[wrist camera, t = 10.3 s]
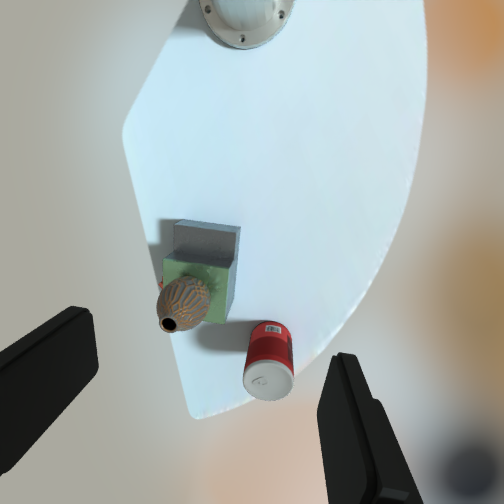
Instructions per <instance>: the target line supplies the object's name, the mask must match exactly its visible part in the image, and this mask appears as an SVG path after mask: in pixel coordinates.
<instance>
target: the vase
mask: <svg viewBox="0 0 504 504" xmlns="http://www.w3.org/2000/svg"><path fill="white" fill-rule="evenodd" d="M210 303H211V296H210V292H209V289H208V287H207V286H206V284H205V283H204V282H203V281H201V280H200V279H198V278H196V277H192V276H183V277H179V278H176V279H174V280H172V281H171V282H170V283H168V284H167V285H166V286H165V287H164V289H163V290H162V291H161V293H160V295H159V298H158V301H157V314H158V317H159V325H160V327H161V329H162V330H163V331H165V332H168V333H174V332H176V331H186V330H189V329H192V328H194V327H195V326H197V325H198V324H199V323H200V322H201V321H202V320H203V319H204V318H205V316H206V315H207V313H208V311H209V308H210Z"/></svg>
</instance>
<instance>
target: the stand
mask: <svg viewBox="0 0 504 504" xmlns="http://www.w3.org/2000/svg"><path fill="white" fill-rule="evenodd" d="M240 229H241V227H237V226H230V225H222V224H215V223H207V222H200V221H193V220H185V219H183V220H181V221H179V222H177V223H175V224H174V251H173V252H172V253H171V254H169V255H168V256H167V257H165V258H164V259H163V276H162V281H161V282H160V283H159V284H158V285H159V286H160V287H161V288H162V290H163V289H164V287H165V286H166V285H167V284H168V283H170V282H171V281H172V280H174V279H176V278H179V277H183V276H192V277H196V278H198V279H200V280H201V281H203V282H204V283H205V284H206V286H207V287H208V289H209V292H210V296H211V303H210V308H209V311H208V313H207V315H206V316H205V318H204V319H203V320H202V321H206V322H212V323H218V324H225V321H226V319H227V316H228V313H229V311H230V308H231V305H232V303H233V300H234V292H235V281H236V271H237V260H238V250H239V239H240Z"/></svg>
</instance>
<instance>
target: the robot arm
mask: <svg viewBox="0 0 504 504" xmlns="http://www.w3.org/2000/svg"><path fill="white" fill-rule="evenodd" d="M199 3H200V7H201V9H202V12H203V15H204V17H205V19H206V21H207V23H208V25H209V26H210V28H211V29H212V31H213V32H214V34H215V35H216V36H217V37H218V38H219V39H220V40H222V41H223V42H225V43H226V44H228V45H230V46H233V47H236V48H242V49H249V48H255V47H258V46H261V45H263V44H265V43H267V42H269V41H270V40H271V39H273V38H274V37H275V36H276V35H277V34H278V33H279V32H280V31H281V29H282V28H283V27H284V26H285V24H286V22H287V20H288V18H289V17H290V15H291V12H292V9H293V7H294V4H295V0H199ZM208 12H210V13H209V14H208ZM281 16H282V17H283V19H280V17H281ZM242 40H245V41H244V42H241V41H242ZM98 368H99V364H98V357H97V348H96V341H95V332H94V324H93V316H92V314H91V313H90V311H89V310H88V309H87V308H82V307H76V306H70V307H68V308H66V309H65V310H64V311H62V312H60V313H59V314H57V315H56V316H54V317H53V318H51V319H50V320H48V321H47V322H45V323H44V324H42V325H41V326H39V327H37V328H36V329H34V330H33V331H31V332H30V333H28V334H27V335H25V336H24V337H22V338H21V339H19V340H18V341H16V342H15V343H13V344H12V345H10V346H9V347H7V348H6V349H4V350H3V351H1V352H0V476H1V475H2V474H3V473H6V472H8V471H9V470H10V469H11V468H12V467H14V465H15V464H16V463H17V462H18V461H19V460H20V459H21V458H22V457H23V455H24V454H25V453H26V452H27V451H28V450H29V449H30V448H31V447H32V445H33V444H34V443H35V442H36V441H37V440H38V439H39V438H40V436H41V435H42V434H43V433H44V432H45V431H46V430H47V429H48V427H49V426H50V425H51V424H52V423H53V422H54V421H55V420H56V419H57V417H58V416H59V415H60V414H61V413H62V412H63V411H64V409H66V407H67V406H68V405H69V404H70V403H71V402H72V401H73V400H74V399H75V397H76V396H77V395H78V394H79V393H80V392H81V391H82V390H83V388H84V387H85V386H86V385H87V384H88V383H89V382H90V380H92V378H93V377H94V376H95V375H96V373H97V371H98ZM317 422H318V429H319V436H320V443H321V451H322V458H323V466H324V473H325V480H326V487H327V495H328V502H329V504H423V501H422V498H421V496H420V494H419V491H418V489H417V486H416V484H415V482H414V479H413V477H412V474H411V472H410V470H409V467H408V465H407V462H406V460H405V458H404V455H403V453H402V451H401V448H400V446H399V444H398V441H397V439H396V437H395V434H394V431H393V429H392V427H391V424H390V422H389V419H388V417H387V415H386V412H385V410H384V408H383V406H382V404H381V402H380V401H379V400H378V399H373V397H372V395H371V392H370V390H369V387H368V384H367V382H366V379H365V377H364V374H363V372H362V369H361V366H360V364H359V362H358V359H357V357H356V356H355V355H353V354H347V353H341V352H339V353H338V354H337V356H332V359H331V362H330V366H329V369H328V373H327V376H326V380H325V383H324V387H323V390H322V394H321V398H320V401H319V404H318V408H317Z"/></svg>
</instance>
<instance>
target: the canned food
mask: <svg viewBox="0 0 504 504" xmlns="http://www.w3.org/2000/svg"><path fill="white" fill-rule="evenodd" d="M293 384H294V369H293V353H292V338H291V335H290V333H289V331H288V329H287V328H286V327H285V326H284V325H282V324H280V323H277V322H273V321H268V322H264V323H261V324H259V325H258V326H257V327H256V328H255V329H254V330H253V331H252V334H251V337H250V342H249V347H248V352H247V357H246V362H245V367H244V373H243V385H244V387H245V389H246V390H247V392H248V393H249V394H251V395H252V396H254V397H255V398H258V399H261V400H265V401H275V400H279V399H282V398H284V397H286V396H287V395H288V394H289V393H290V392H291V391H292V389H293Z"/></svg>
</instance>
